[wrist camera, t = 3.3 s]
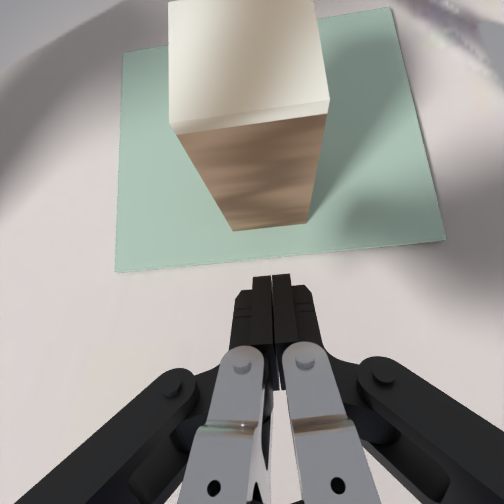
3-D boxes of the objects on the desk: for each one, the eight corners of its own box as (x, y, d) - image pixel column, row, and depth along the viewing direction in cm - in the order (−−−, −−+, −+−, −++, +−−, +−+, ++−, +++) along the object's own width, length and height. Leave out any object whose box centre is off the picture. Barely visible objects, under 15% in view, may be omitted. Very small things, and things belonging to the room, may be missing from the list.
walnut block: (232, 231, 20) (168, 122, 9) (228, 166, 22) (168, 2, 11) (306, 223, 20) (330, 99, 9) (297, 157, 21) (309, -25, 10)
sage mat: (118, 273, 21) (114, 271, 21) (126, 57, 26) (123, 52, 25) (442, 241, 19) (446, 238, 19) (387, 13, 24) (389, 6, 23)
